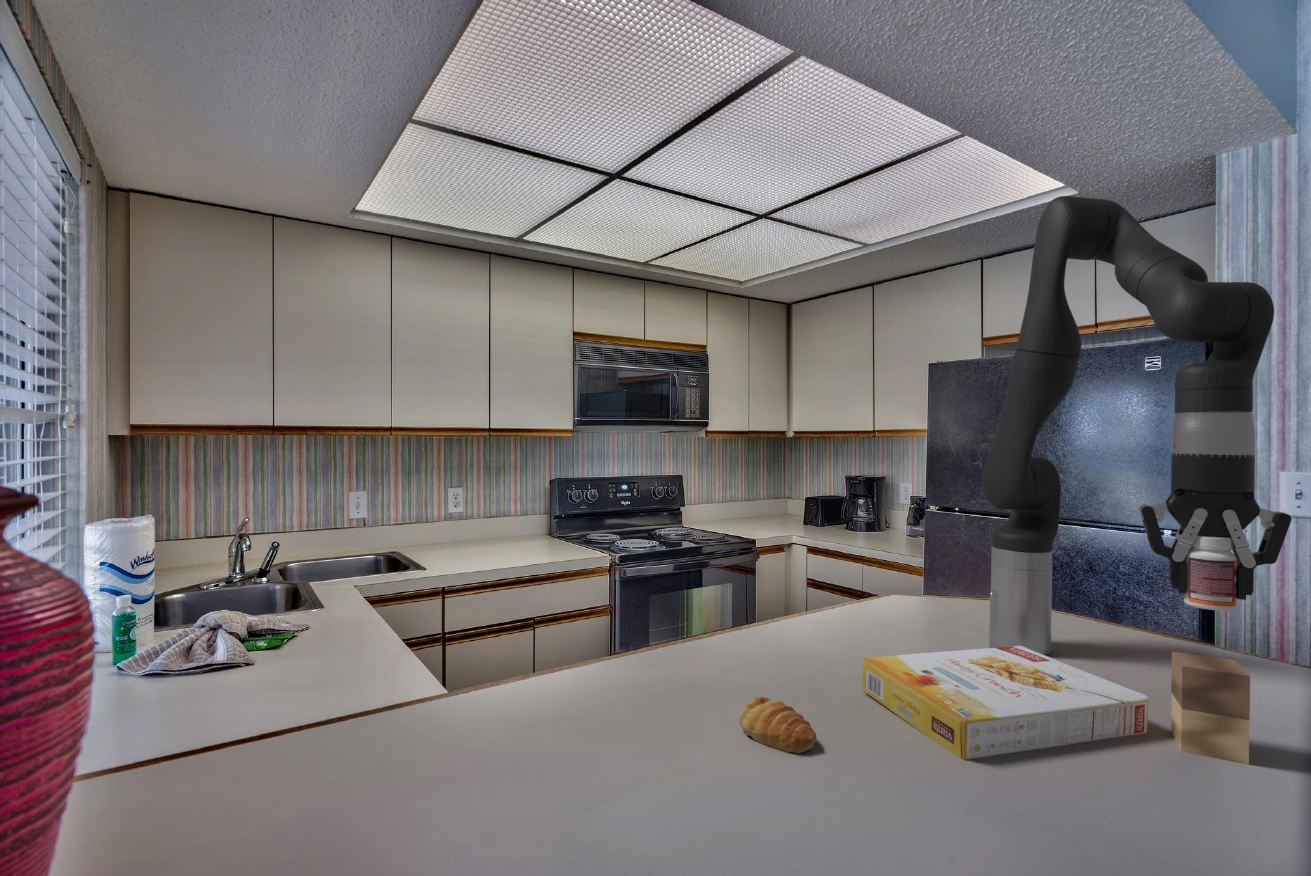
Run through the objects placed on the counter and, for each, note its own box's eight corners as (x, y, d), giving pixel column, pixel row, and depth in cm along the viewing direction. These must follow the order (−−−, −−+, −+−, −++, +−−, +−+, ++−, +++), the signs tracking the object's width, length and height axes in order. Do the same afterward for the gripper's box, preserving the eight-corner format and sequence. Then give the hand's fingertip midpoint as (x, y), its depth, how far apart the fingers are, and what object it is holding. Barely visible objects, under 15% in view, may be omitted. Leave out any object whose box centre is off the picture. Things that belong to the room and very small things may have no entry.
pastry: (830, 746, 77) (830, 714, 77) (791, 764, 72) (791, 729, 72) (770, 718, 84) (770, 689, 84) (732, 733, 80) (732, 701, 80)
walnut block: (1181, 708, 76) (1182, 666, 76) (1171, 691, 81) (1171, 651, 81) (1249, 720, 73) (1250, 675, 73) (1234, 701, 78) (1234, 660, 78)
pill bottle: (1246, 613, 74) (1248, 539, 74) (1199, 610, 75) (1200, 537, 75) (1219, 602, 79) (1220, 533, 79) (1175, 600, 80) (1176, 531, 80)
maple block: (1180, 751, 76) (1181, 708, 76) (1171, 731, 81) (1171, 691, 81) (1248, 765, 73) (1249, 720, 73) (1234, 743, 78) (1234, 701, 78)
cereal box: (860, 655, 92) (1019, 639, 100) (859, 694, 92) (1018, 675, 100) (966, 718, 73) (1153, 692, 81) (964, 767, 73) (1151, 737, 81)
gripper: (1141, 450, 77) (1139, 593, 77) (1306, 453, 70) (1303, 611, 70) (1133, 449, 84) (1131, 582, 84) (1283, 452, 77) (1281, 596, 77)
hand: (1210, 594), depth 77 cm, fingers closed on pill bottle, 4 cm apart
